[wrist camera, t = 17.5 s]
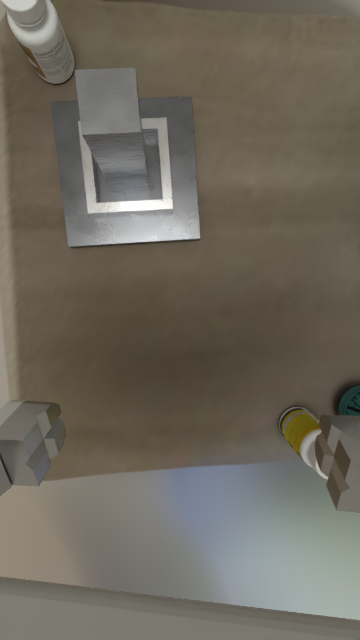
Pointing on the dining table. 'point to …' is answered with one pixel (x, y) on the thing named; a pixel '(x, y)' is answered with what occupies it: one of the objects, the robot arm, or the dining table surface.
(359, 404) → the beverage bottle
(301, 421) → the supplement bottle
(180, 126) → the block
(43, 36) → the pill bottle
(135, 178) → the steel bar
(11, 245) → the dining table surface
